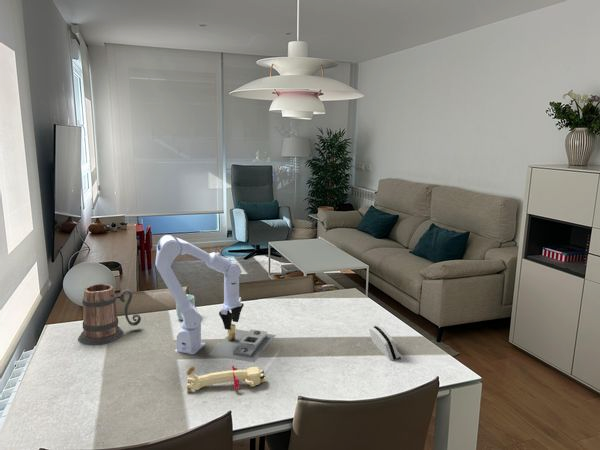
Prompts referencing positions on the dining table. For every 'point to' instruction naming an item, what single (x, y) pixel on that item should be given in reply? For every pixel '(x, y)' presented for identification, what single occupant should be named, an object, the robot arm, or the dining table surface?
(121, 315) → the dining table surface
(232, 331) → the pin
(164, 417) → the dining table surface
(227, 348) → the mat
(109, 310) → the tankard
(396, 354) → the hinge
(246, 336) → the latch strike plate
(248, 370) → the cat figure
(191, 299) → the cup
